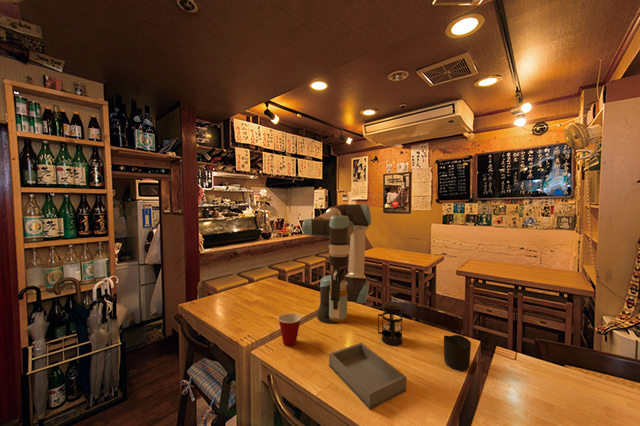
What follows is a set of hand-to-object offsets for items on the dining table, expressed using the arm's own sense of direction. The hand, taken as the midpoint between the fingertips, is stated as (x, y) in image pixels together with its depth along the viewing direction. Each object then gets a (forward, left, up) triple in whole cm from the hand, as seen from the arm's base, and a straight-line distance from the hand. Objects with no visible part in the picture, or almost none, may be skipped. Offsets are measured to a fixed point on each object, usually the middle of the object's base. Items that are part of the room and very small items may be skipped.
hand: (338, 313), depth 99 cm
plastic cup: (+10, -24, -21) cm, 33 cm away
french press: (-32, -3, -21) cm, 38 cm away
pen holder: (-41, +23, -21) cm, 52 cm away
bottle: (0, 0, -2) cm, 2 cm away
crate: (-5, +11, -20) cm, 24 cm away
